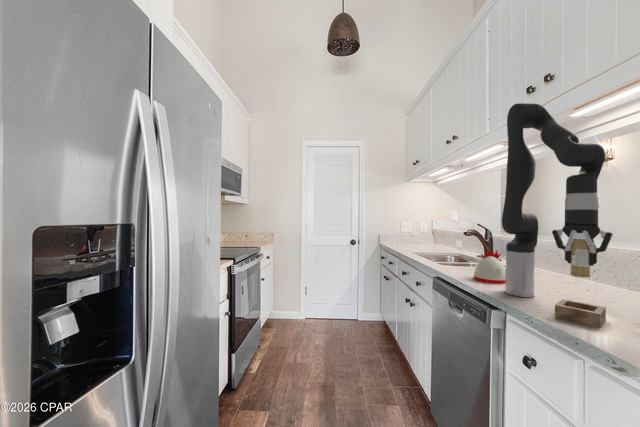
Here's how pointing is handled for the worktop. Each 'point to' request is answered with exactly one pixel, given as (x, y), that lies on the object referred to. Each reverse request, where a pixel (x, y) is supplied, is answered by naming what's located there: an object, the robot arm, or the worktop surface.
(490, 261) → the white rounded dome
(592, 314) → the walnut holder
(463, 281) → the worktop surface
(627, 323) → the worktop surface
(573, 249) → the sprinkles bottle
